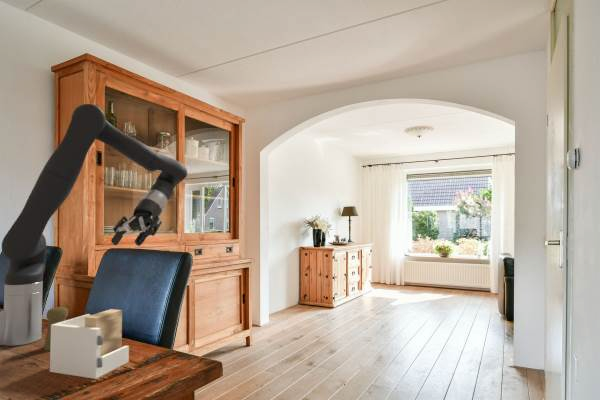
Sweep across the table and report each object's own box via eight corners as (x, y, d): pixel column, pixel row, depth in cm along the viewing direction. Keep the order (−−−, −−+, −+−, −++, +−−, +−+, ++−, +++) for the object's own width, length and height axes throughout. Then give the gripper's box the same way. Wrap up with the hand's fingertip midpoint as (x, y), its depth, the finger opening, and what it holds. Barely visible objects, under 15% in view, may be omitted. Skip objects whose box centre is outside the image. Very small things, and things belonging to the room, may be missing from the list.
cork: (57, 351, 103) (57, 310, 103) (38, 349, 104) (39, 309, 104) (74, 344, 109) (75, 305, 109) (56, 342, 110) (57, 304, 110)
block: (110, 356, 96) (111, 309, 97) (121, 357, 95) (122, 310, 96) (83, 368, 89) (84, 317, 89) (95, 370, 87) (96, 318, 88)
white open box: (86, 356, 99) (86, 314, 100) (132, 362, 95) (132, 318, 95) (49, 371, 89) (50, 324, 90) (99, 379, 85) (100, 330, 85)
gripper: (127, 198, 123) (99, 235, 112) (164, 197, 119) (138, 235, 108) (138, 214, 128) (112, 251, 117) (174, 214, 124) (150, 252, 113)
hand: (125, 243), depth 112 cm, fingers open, 8 cm apart
